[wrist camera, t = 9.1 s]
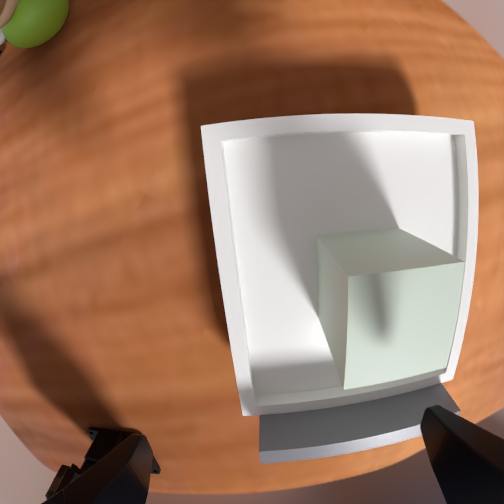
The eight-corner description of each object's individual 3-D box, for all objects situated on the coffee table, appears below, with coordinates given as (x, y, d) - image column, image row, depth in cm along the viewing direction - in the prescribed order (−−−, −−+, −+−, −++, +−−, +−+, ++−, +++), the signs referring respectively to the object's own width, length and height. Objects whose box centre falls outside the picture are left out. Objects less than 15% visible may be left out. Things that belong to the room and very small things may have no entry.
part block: (395, 307, 16) (446, 367, 10) (318, 318, 16) (343, 389, 10) (399, 228, 15) (464, 261, 9) (315, 235, 15) (348, 276, 9)
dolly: (421, 355, 21) (467, 419, 14) (248, 381, 22) (243, 464, 14) (430, 128, 17) (508, 116, 9) (216, 137, 18) (184, 114, 10)
